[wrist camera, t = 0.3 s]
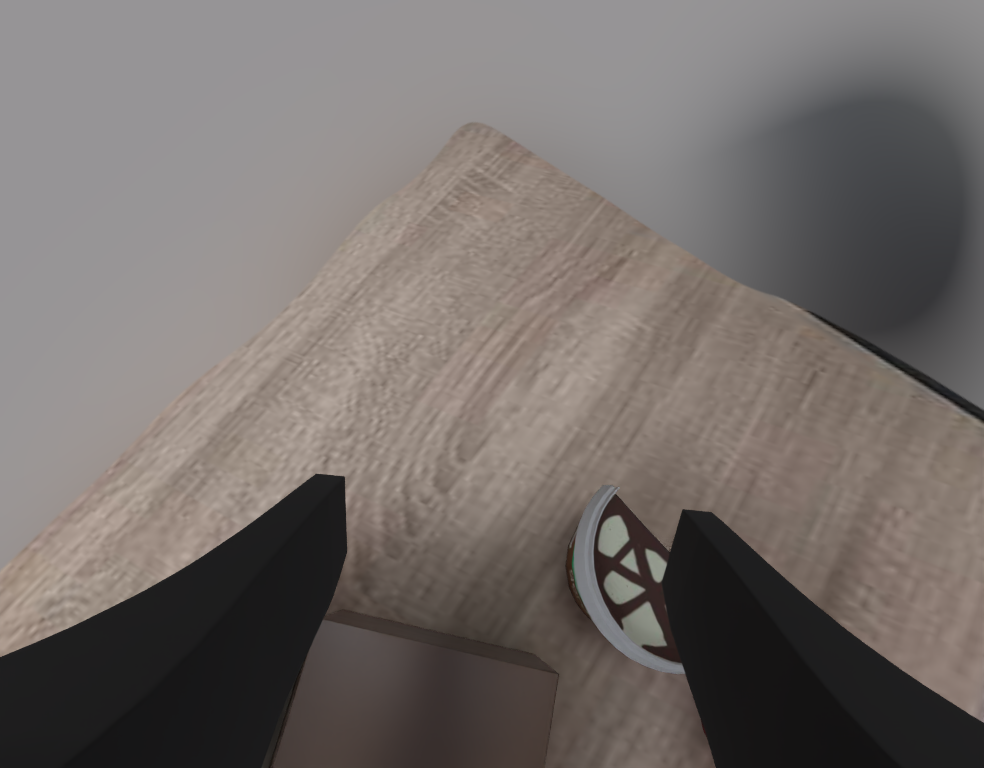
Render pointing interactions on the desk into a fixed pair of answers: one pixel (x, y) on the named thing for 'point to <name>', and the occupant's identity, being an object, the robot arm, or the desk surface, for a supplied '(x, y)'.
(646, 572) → the food container
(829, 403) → the desk surface
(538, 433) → the desk surface
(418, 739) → the cabinet
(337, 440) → the desk surface
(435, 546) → the desk surface
